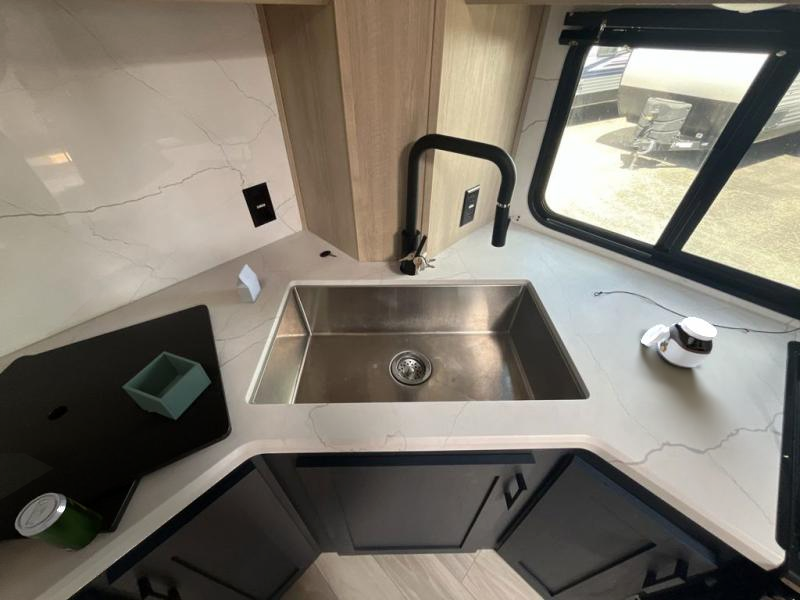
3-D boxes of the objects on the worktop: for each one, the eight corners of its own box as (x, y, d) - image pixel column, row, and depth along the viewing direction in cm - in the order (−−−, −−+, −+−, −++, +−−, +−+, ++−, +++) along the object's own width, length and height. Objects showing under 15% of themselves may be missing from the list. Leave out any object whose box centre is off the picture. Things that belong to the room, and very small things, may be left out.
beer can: (94, 553, 52) (42, 533, 45) (59, 554, 52) (1, 534, 44) (115, 515, 56) (71, 490, 49) (83, 516, 56) (33, 491, 48)
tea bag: (260, 289, 105) (252, 263, 98) (254, 302, 100) (244, 276, 93) (249, 288, 105) (240, 263, 98) (242, 302, 99) (231, 276, 93)
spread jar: (697, 374, 83) (729, 344, 75) (650, 366, 84) (676, 336, 77) (677, 340, 92) (703, 310, 84) (634, 333, 93) (656, 303, 86)
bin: (178, 423, 69) (160, 401, 64) (142, 409, 72) (121, 387, 66) (213, 385, 77) (199, 363, 71) (179, 373, 79) (164, 351, 74)
